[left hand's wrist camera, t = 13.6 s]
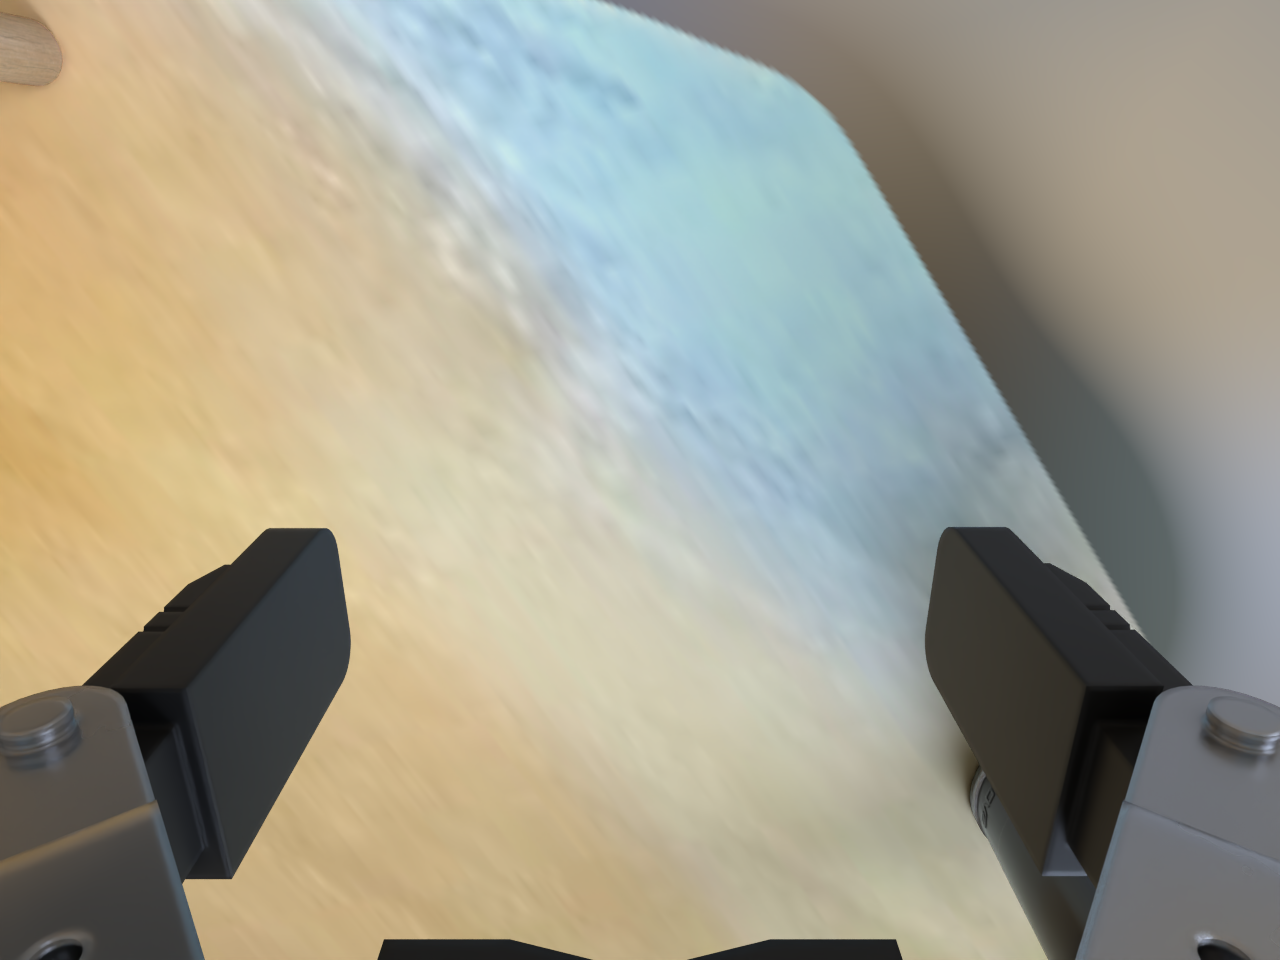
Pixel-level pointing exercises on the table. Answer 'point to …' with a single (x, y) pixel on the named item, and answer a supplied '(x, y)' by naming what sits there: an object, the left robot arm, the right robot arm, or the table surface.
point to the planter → (27, 51)
